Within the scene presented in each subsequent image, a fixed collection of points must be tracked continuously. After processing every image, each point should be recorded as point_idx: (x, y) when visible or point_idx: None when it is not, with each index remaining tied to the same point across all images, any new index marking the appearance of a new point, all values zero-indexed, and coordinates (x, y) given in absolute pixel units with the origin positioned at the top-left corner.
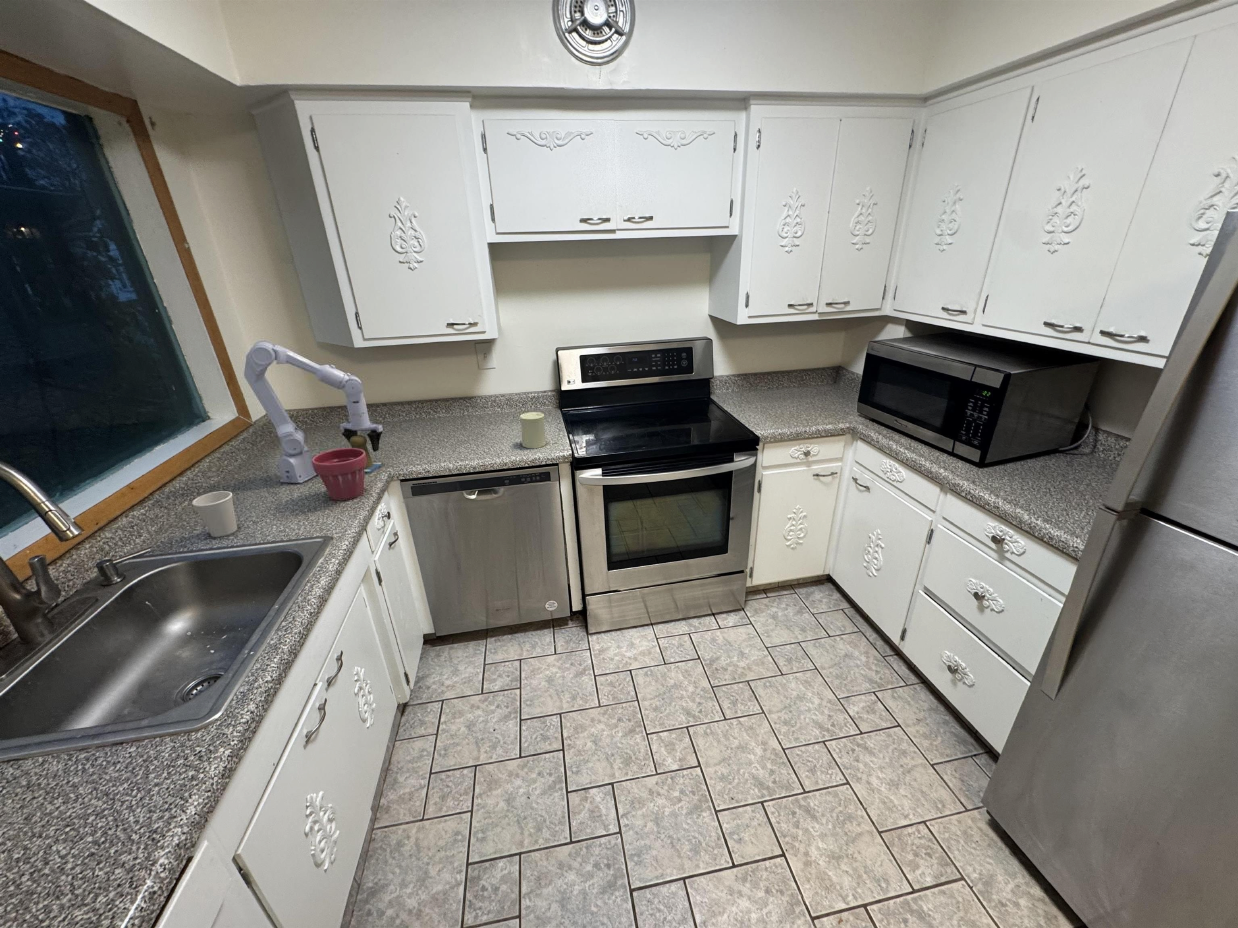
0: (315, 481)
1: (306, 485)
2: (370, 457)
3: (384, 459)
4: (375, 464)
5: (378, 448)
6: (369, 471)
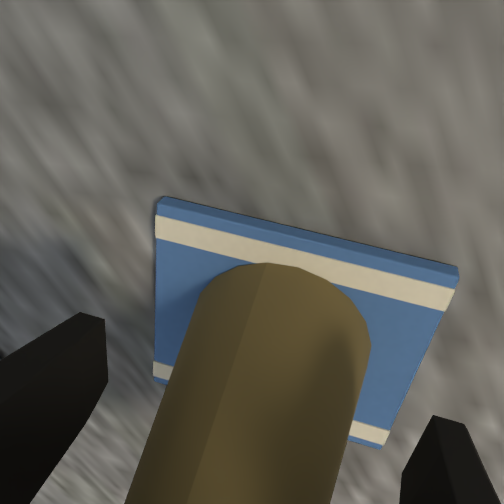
0: (77, 459)
1: (71, 490)
2: (347, 402)
3: (427, 89)
4: (384, 311)
5: (472, 456)
6: (383, 441)
